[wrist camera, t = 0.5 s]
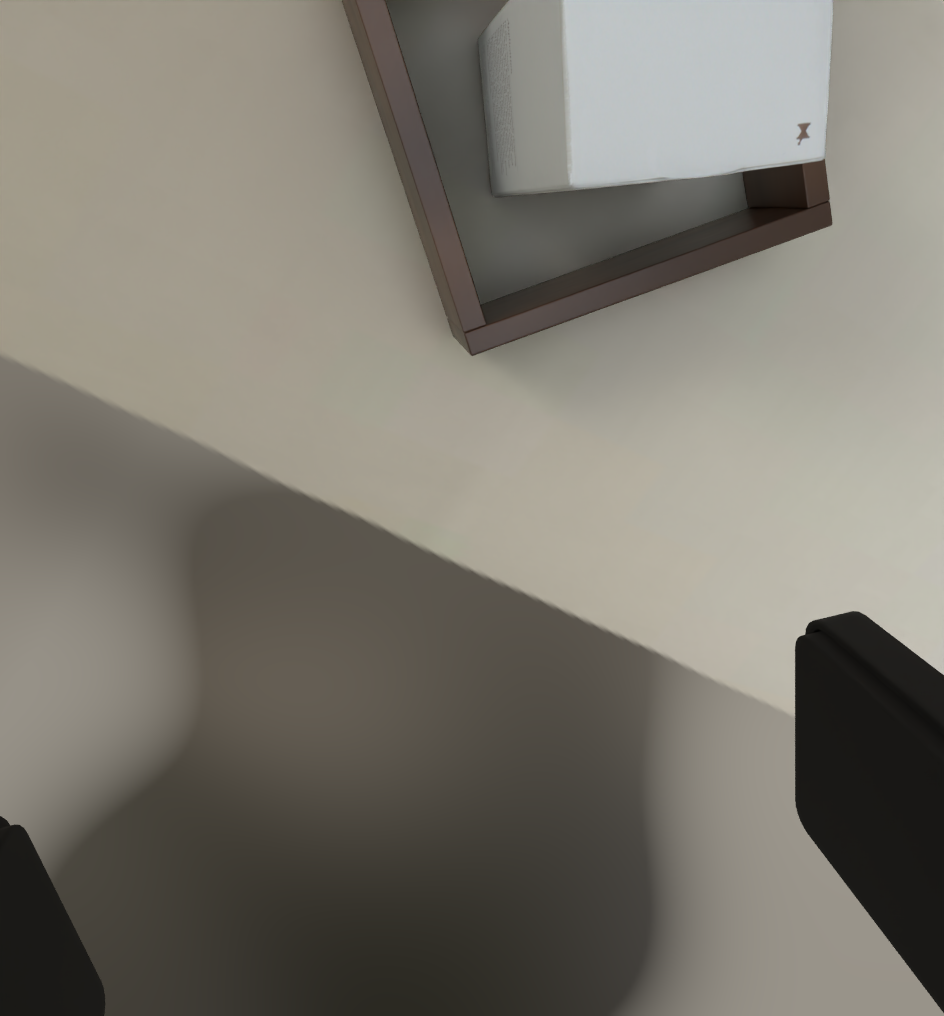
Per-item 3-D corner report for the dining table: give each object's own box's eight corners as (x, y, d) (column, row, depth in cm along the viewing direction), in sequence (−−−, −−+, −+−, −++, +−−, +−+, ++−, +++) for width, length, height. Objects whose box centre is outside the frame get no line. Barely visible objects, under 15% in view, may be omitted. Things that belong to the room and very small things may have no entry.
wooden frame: (332, -29, 30) (332, -70, 26) (711, -159, 31) (777, -223, 26) (453, 337, 36) (471, 356, 32) (770, 222, 37) (833, 225, 32)
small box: (660, 15, 33) (847, -92, 21) (662, 178, 35) (831, 164, 23) (472, 33, 32) (555, -69, 20) (487, 199, 34) (570, 196, 22)
